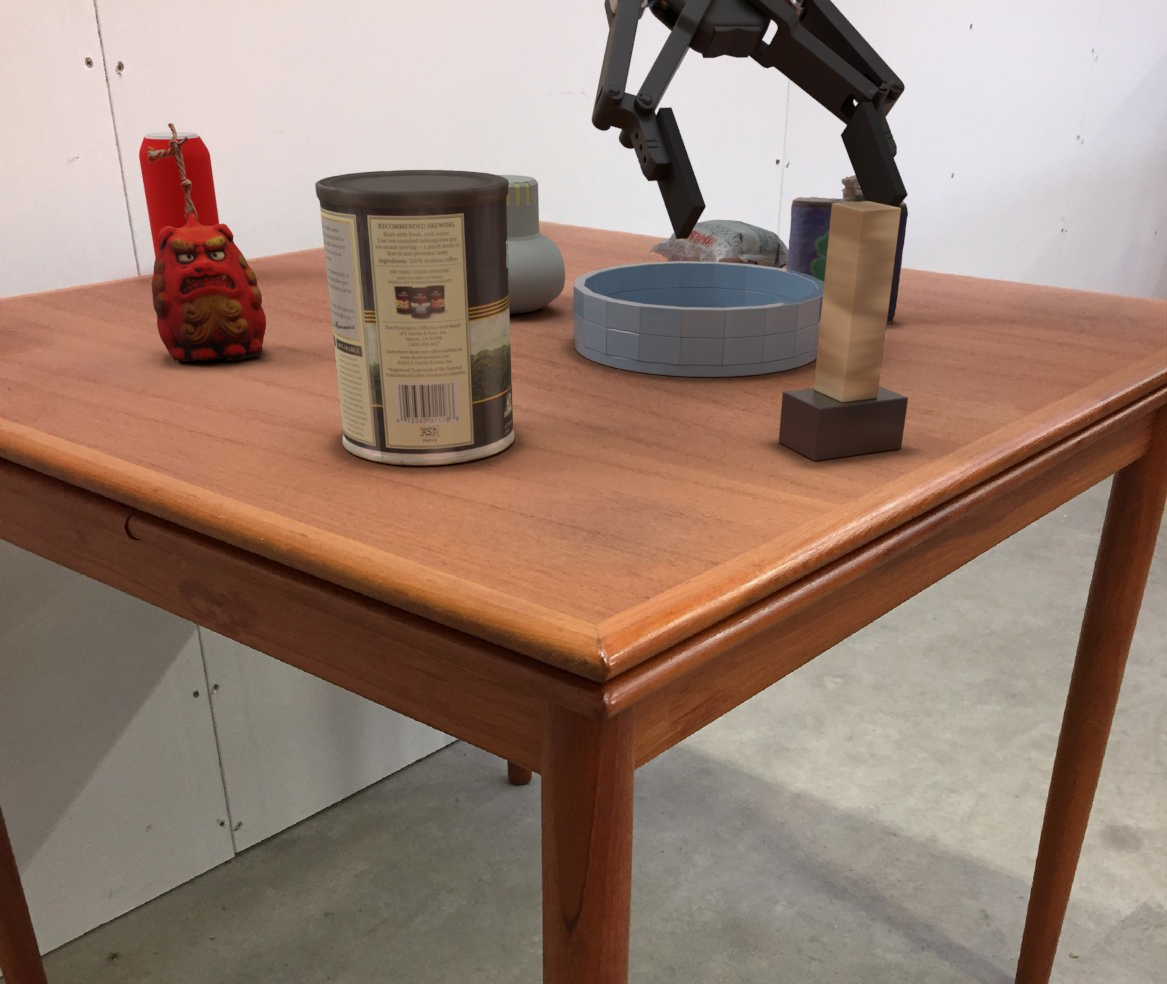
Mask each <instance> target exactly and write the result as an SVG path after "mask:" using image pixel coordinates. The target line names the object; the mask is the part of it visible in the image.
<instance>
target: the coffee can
mask: <svg viewBox="0 0 1167 984" xmlns="http://www.w3.org/2000/svg"><path fill="white" fill-rule="evenodd" d="M499 175H500V174H494V173H488V172H479V171H470V170H469V171H467V170H453V169H450V170H449V169H401V170H400V169H399V170H398V169H397V170H395V169H394V170H375V171H361V172H352V173H344V174H338V175H332V176H327V177H324V178H321V179H319V180H317V181H316V182H315V183H314V189H315V196H316V198H317V199H318V201H319V210H320V219H321V220H320V221H321V230H322V240H323V248H324V258H325V268H326V279H327V287H328V297H329V307H330V316H331V327H332V337H333V346H334V356H335V366H336V375H337V385H338V386H337V387H338V395H339V397H338V398H339V407H340V417H341V425H342V426H341V427H342V428H341V429H342V438H341V439H342V445H343V447H344V449H345V450H347V452H349V453H350V454H352V455H354V456H357V457H359V458H362V459H365V460H368V461H372V462H376V463H377V462H378V463H383V464H387V465H388V464H389V465H395V466H396V465H397V466H441V465H449V464H450V465H451V464H459V463H466V462H471V461H476V460H479V459H483V458H487V457H490V456H493V455H496V454H499V453H500V452H503V451H504V450H506V449H508V448H509V447H510V446H511V445H512V444H513V443H514V442H515V437H516V434H515V430H514V413H513V412H514V411H513V408H514V407H513V382H512V355H511V354H512V353H511V351H512V349H511V323H510V322H511V321H510V319H511V318H510V314H509V281H508V275H509V272H508V243H507V203H506V200H507V195H508V188H509V182H508V180H507V179H506V178H503V177H502V176H499Z"/></svg>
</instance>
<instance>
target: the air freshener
mask: <svg viewBox="0 0 1167 984" xmlns="http://www.w3.org/2000/svg"><path fill="white" fill-rule="evenodd" d="M498 175H499V176H502V177H503V178H506V179H507V180H508V182H509V188H508V195H507V200H506V203H507V243H508V272H509V275H508V281H509V315H513V314H515V315H516V314H523V313H530V312H535V311H537V310H540V309H541V308H544V307H545V306H547V305H548V304H550V303H552V302H553V301H555V299H557V298H558V297H559V296H560V295H561V294H562V293H563V290H564V288H565V283H566V267H565V261H564V258H563V255H562V253H561V250H560V249H559V247H558V245H557V243H556V242H554V241H553V240H552V239H550V238H549V237H547V236H546V235H544V234H542V233H541V232H540V209H539V208H540V206H539V202H540V201H539V182H538V181H537V180H536V179H535V178H534V177H532V176H528V175H527V176H526V175H517V174H515V175H514V174H498Z"/></svg>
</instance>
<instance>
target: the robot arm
mask: <svg viewBox="0 0 1167 984" xmlns="http://www.w3.org/2000/svg"><path fill="white" fill-rule="evenodd" d="M603 7H604V10H605V11H604V12H605V15H606V21H607V24H608V25H607V26H608V34H607V38H606V45H605V49H604V55H603V60H602V65H601V69H600V74H599V79H598V85H597V89H596V95H595V99H594V103H593V110H592V115H591V123H592V126H593V127H595V129H597V130H599V131H602V132H605V131H606V132H607V131H609V130H610V129H611V127H612V128H616V129H619V130H620V132H619V135H618V142H619V143H620V145H621V146H622V147H623V148H626V149H627V150H634V152H635V155H636V158H637V162H638V164H639V168H640V170H641V173H642V175H643V177H644V178H645V179H646V180H647V181H648V182H656V184H657V186H658V189H659V192H660V195H661V197H662V198H661V199H662V201H663V203H664V207H665V209H666V213H667V215H668V218H669V222H670V224H671V227H672V230H673V233H675V236H676V239H686V238H689V236H690V234H691V232H692V230H693V229H694V227H695V225H696V223H698V221H699V220H700V218H701V216H702V215H703V213H704V211H705V209H706V207H707V206H706V203H705V200H704V197H703V194H702V191H701V189H700V186H699V182H698V179H697V177H696V174H695V171H694V167H693V165H692V162H691V159H690V157H689V154H688V151H687V148H686V145H685V142H684V139H683V137H682V134H681V131H680V128H679V124H678V122H677V120H676V116H675V113H674V110H673V108H672V107H671V106H669V107H659V108H658V106H659V105H660V103H661V101H662V100H663V98H664V95H665V94H666V92H667V90H668V88H669V86H670V84H671V82H672V80H673V78H674V77H675V75H676V73H677V71H678V70H679V68H680V67H681V66H682V65H681V64H682V62H683V61H684V60H685V57H686V56H687V53H688V52H689V49H691V50H692V51H694V52H695V53H698V54H701V56H702V59H716V58H719V57H723V56H728V57H731V58H736V59H741V58H742V59H744V58H746V59H747V58H749V57H750V58H751V59H752V60H754V61H755V62H756V63H757V64H758V65H760V67H762V68H764V69H770V68H775V69H776V70H777V71H778V72H780V73H781V74H782V75H783V76H784V77H786V78H787V79H788V80H790V81H791V82H792V83H794V84H795V86H797V87H798V88H799V89H801V90H802V91H803V92H804V93H806V94H807V95H808V96H810V97H811V98H812V99H814V100H815V101H816V102H817V103H818V104H820V105H821V106H822V107H823V108H825V109H826V110H827V111H828V112H830V113H831V114H832V115H833V116H835V117H836V118H837V119H838V120H840V122H842V123H843V124H845V125H846V126H845V128H844V129H843V131H842V132H841V134H840V137H841V140H842V143H843V145H844V148H845V151H846V153H847V156H848V158H849V162H850V164H851V167H852V169H853V173H854V175H856V178H857V180H858V183H859V186H860V188H861V191H862V194H863V197H864V199H865V201H870V202H875V203H880V204H884V205H889V206H893V207H899V206H900V204H901V203H902V202H904V201H905V199H906V198H907V197H908V195H909V194H908V191H907V189H906V186H905V184H904V180H903V178H902V176H901V173H900V171H899V168H898V165H897V163H896V160H895V157H896V156H897V154H898V153H897V152H898V146H897V143H896V141H895V139H894V136H893V133H892V130H891V128H890V124H889V123H888V119H887V116H888V115H889V113H890V112H891V111H892V109H893V108H894V106H895V105H896V104H897V102H898V100H899V99H900V97H901V96H902V95H903V93H904V91H905V89H906V86H905V83H904V82H903V80H902V79H901V78H900V77H899V76H898V75H897V74H896V72H895V71H894V70H893V68H891V67H890V66H889V65H888V63H886V61H885V60H884V59H883V58H882V57H881V55H880V54H879V53H878V52H877V51H876V50H875V49H874V48H873V47H872V46H871V44H870V43H869V42H868V40H866V38H864V36H862V34H861V33H860V32H859V31H858V30H857V28H856V27H855V26H854V25H853V24H852V23H851V21H849V20H848V18H847V17H846V16H845V15H844V14H843V13H842V12H841V10H840V9H839V8H838V6H837V5H835V4H834V2H833V1H832V0H604V6H603ZM647 8H649V11H650V12H651V14H652V15H653V17H654V18H656V19H657V20H658V21H659V22H660V23H661V24H663V26H665V27H666V28H667V29H668V30H669V31H670V33H669V35H668V37H667V38H666V41H665V42H664V44H663V46H662V47H661V50H660V52H659V53H658V55H657V56H656V59H655V60H654V63H653V64H652V66H651V67H650V70H649V72H648V73H647V75H646V77H645V78H644V81H643V82H642V85H641V86H640V88H639V89H638V92H637V94H632V93H629V92H627V91H626V87H627V83H628V77H629V72H630V67H631V63H632V57H633V52H634V51H633V50H634V46H635V41H636V35H637V32H638V31H637V30H638V27H639V21H640V20H641V19H642V18H643V17H644V13H645V11H646V9H647ZM771 22H773V23H775V24H776V27H777V29H776V31H775V33H774V35H773V37H772V38H771V40H770V43H767V42H766V41H764V40H763V39H764V38H765V35H766V34H767V32H768V30H769V27H770V25H771ZM854 102H855V103H857V104H856V105H855V103H854ZM657 109H658V110H657ZM656 110H657V113H656Z"/></svg>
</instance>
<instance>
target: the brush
mask: <svg viewBox="0 0 1167 984" xmlns="http://www.w3.org/2000/svg"><path fill="white" fill-rule="evenodd" d="M900 213H901V208H898V207H893V206H889V205H884V204H880V203H875V202H870V201H861V202H845V203H833V204H832V210H831V220H830V230H829V240H828V250H827V260H826V270H825V281H824V291H823V301H822V311H821V321H820V331H819V341H818V352H817V358H816V362H815V373H814V382H813V387H808V388H802V389H794V390H793V389H792V390H785V391H782V394H781V395H782V396H781V397H782V398H781V407H780V410H781V411H780V420H779V432H778V443H779V444H781V445H783V446H785V447H787V448H789V449H791V450H793V451H795V452H797V453H799V454H801V455H803V456H805V457H807V458H808V459H810V460H812V461H814V462H817V461H818V462H819V461H826V460H831V459H832V460H833V459H837V458H838V459H839V458H846V457H853V456H859V455H866V454H874V453H880V452H886V451H893V450H894V451H895V450H900V449H902V446H903V438H904V431H905V424H906V417H907V411H908V410H907V409H908V403H909V398H908V397H907V396H905V395H903V394H901V393H898V392H895V391H893V390H891V389H888V388H886V387H883V386H881V385H880V380H881V373H882V371H881V370H882V365H883V355H884V347H885V341H886V332H887V325H888V323H887V316H888V308H889V300H890V292H891V284H892V276H893V268H894V261H895V253H896V245H897V237H898V229H899V221H900Z"/></svg>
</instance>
